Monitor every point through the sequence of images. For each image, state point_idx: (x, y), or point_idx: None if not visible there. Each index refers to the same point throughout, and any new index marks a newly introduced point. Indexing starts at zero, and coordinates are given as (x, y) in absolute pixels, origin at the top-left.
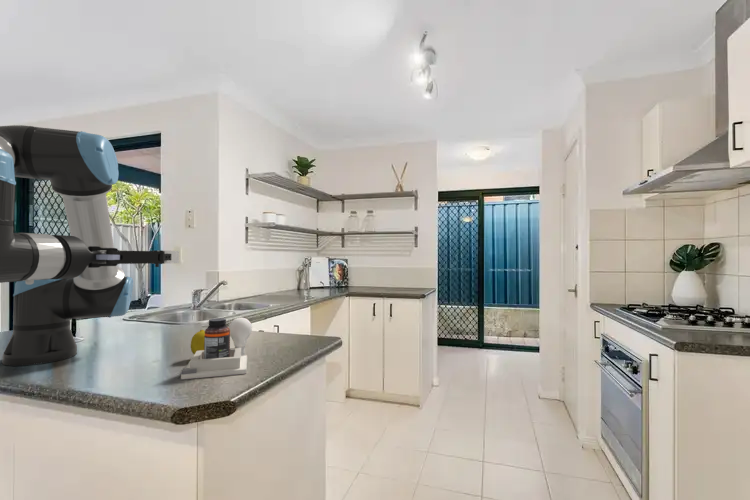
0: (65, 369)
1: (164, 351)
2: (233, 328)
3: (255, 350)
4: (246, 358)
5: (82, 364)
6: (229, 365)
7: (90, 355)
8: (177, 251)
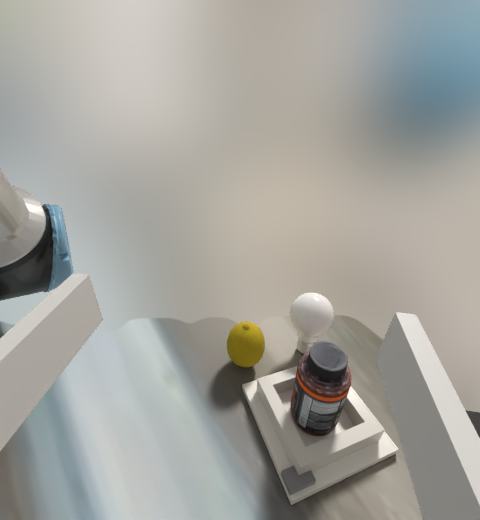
0: None
1: (157, 326)
2: (312, 325)
3: None
4: None
5: None
6: (364, 444)
7: None
8: (420, 326)
